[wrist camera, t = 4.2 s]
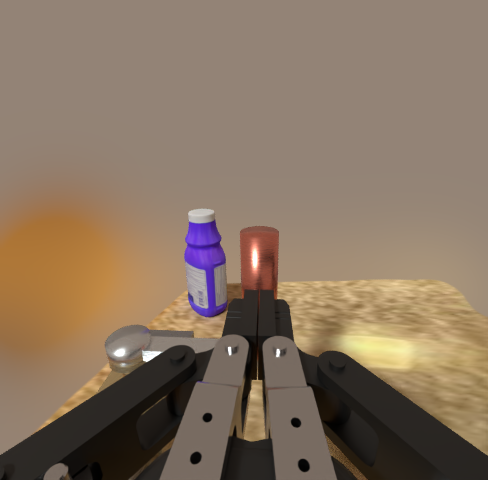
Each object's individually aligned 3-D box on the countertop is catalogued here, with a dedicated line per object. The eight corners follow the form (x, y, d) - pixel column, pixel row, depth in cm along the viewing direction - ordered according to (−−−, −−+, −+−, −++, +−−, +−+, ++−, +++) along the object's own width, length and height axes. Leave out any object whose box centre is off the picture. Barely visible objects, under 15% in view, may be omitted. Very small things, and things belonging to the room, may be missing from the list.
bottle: (234, 309, 47) (230, 211, 41) (207, 324, 43) (198, 219, 37) (209, 293, 52) (203, 204, 46) (183, 305, 48) (172, 210, 42)
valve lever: (122, 341, 23) (96, 223, 19) (275, 348, 22) (277, 224, 18) (100, 372, 20) (65, 239, 16) (276, 381, 19) (279, 241, 15)
